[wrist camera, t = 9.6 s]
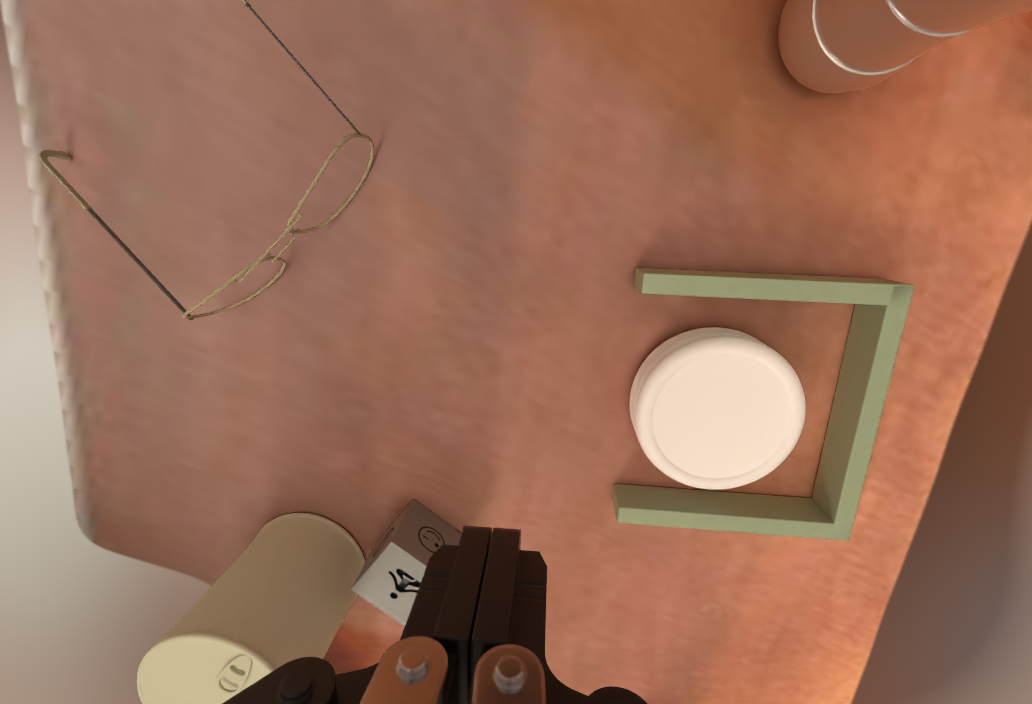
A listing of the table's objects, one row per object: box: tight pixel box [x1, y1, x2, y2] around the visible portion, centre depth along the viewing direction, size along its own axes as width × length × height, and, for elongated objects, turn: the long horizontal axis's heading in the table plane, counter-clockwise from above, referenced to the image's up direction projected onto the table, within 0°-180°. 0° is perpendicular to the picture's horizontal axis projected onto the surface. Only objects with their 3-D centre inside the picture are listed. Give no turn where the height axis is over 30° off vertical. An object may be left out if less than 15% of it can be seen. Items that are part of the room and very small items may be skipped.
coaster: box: [629, 327, 806, 489], centre depth 31 cm, size 10×10×4 cm
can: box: [137, 513, 365, 704], centre depth 33 cm, size 9×9×12 cm
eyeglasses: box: [39, 0, 374, 320], centre depth 29 cm, size 16×15×5 cm
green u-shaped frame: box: [613, 268, 915, 541], centre depth 31 cm, size 16×15×3 cm
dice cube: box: [351, 499, 462, 626], centre depth 35 cm, size 5×5×5 cm
